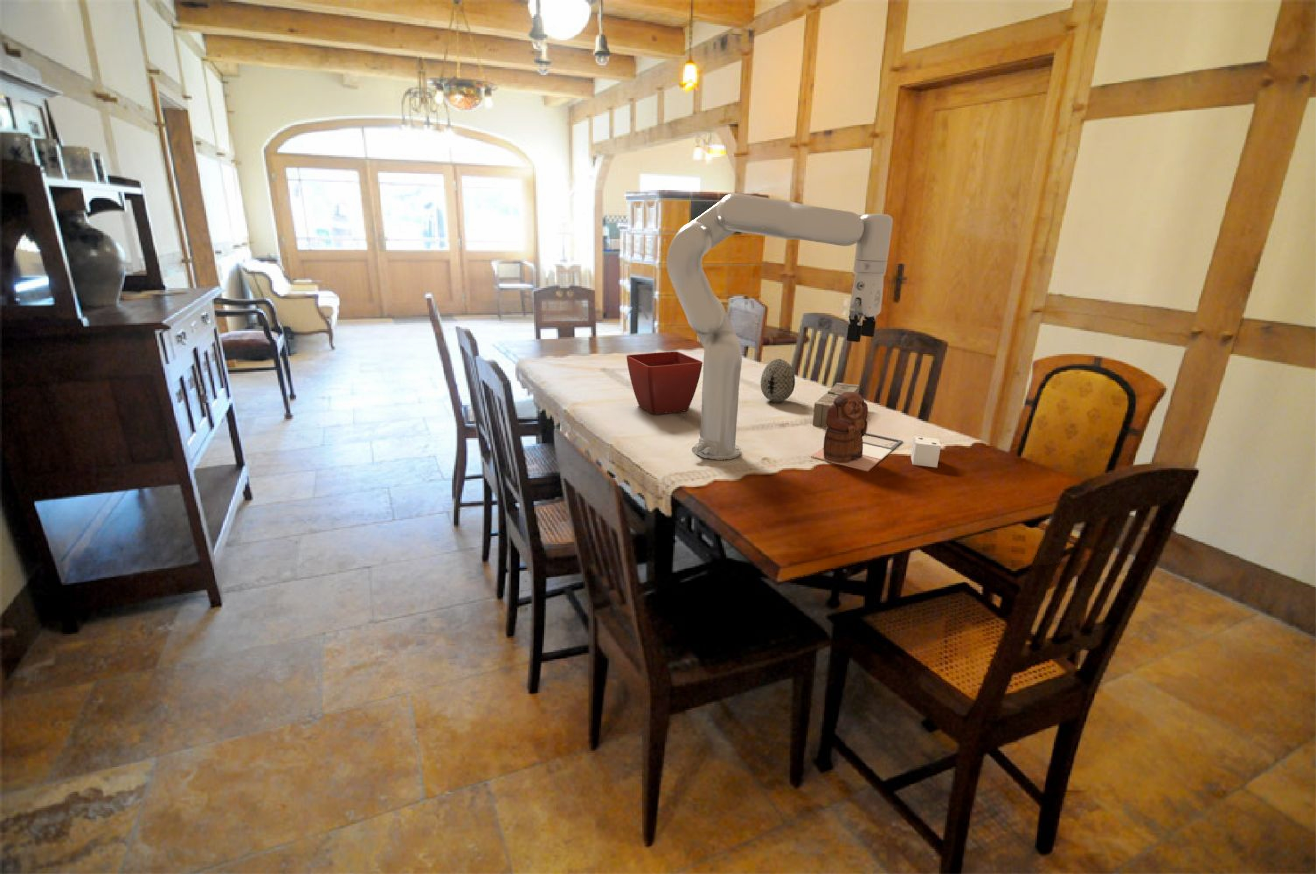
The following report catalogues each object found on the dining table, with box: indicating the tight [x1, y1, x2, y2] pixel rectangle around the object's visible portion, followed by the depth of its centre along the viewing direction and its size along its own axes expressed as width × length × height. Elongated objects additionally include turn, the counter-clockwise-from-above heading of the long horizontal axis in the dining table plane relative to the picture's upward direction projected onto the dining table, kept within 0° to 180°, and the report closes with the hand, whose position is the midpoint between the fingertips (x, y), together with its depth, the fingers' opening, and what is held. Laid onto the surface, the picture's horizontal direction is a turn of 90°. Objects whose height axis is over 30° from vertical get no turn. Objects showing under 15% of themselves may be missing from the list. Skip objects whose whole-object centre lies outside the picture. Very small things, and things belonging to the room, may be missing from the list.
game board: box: [810, 432, 904, 472], centre depth 176 cm, size 29×15×1 cm, turn 143°
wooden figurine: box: [822, 392, 869, 463], centre depth 165 cm, size 12×6×18 cm, turn 123°
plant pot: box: [626, 351, 704, 415], centre depth 206 cm, size 19×19×17 cm
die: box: [910, 435, 942, 468], centre depth 167 cm, size 6×6×6 cm
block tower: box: [812, 382, 860, 429], centre depth 205 cm, size 8×8×29 cm
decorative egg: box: [760, 358, 796, 403], centre depth 218 cm, size 12×12×15 cm
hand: (860, 338), depth 158 cm, fingers open, 9 cm apart
